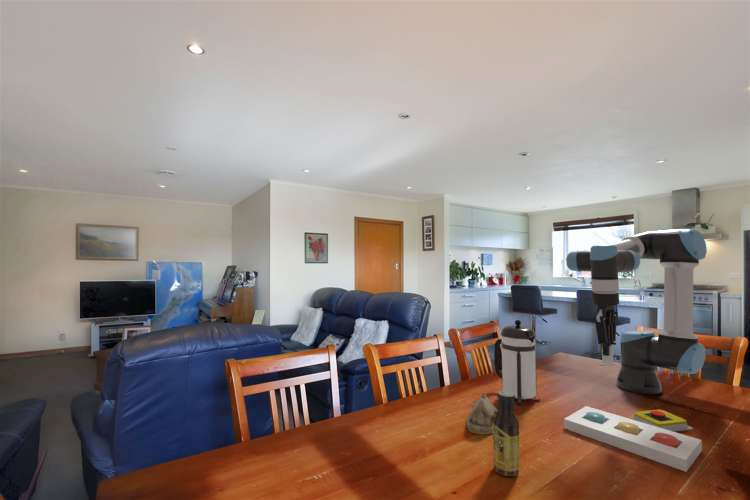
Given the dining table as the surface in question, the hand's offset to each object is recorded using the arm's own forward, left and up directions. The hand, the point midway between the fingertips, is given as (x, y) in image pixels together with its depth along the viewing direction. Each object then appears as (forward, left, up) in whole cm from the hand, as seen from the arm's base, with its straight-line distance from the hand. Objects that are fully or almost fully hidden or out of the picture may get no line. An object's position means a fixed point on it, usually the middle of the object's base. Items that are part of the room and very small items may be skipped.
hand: (608, 364), depth 118 cm
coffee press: (+2, -32, -19) cm, 37 cm away
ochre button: (+6, +7, -19) cm, 21 cm away
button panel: (+6, +7, -19) cm, 21 cm away
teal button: (+6, -2, -19) cm, 20 cm away
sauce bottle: (+49, -6, -19) cm, 53 cm away
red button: (+6, +16, -19) cm, 26 cm away
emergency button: (-12, +10, -20) cm, 26 cm away
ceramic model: (+32, -25, -20) cm, 45 cm away
